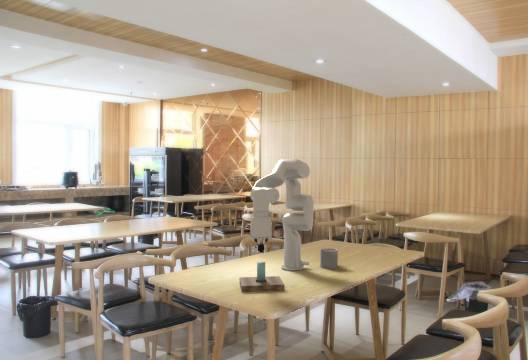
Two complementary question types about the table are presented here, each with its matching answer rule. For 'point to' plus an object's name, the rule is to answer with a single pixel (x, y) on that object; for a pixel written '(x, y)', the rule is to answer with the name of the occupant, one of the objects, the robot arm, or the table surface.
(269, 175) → the robot arm
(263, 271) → the teal peg
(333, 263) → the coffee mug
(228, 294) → the table surface
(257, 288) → the walnut board
